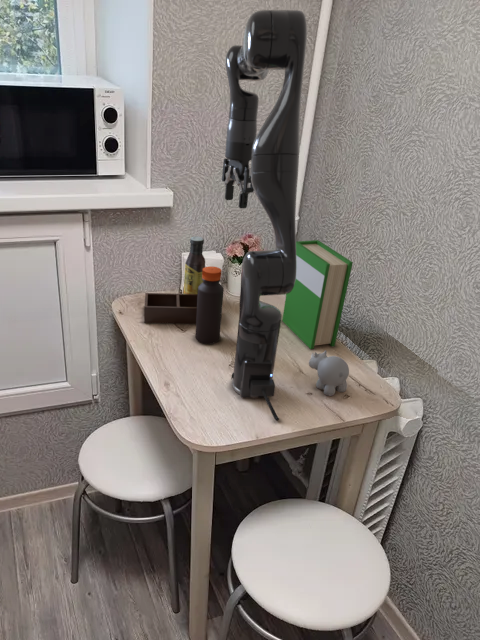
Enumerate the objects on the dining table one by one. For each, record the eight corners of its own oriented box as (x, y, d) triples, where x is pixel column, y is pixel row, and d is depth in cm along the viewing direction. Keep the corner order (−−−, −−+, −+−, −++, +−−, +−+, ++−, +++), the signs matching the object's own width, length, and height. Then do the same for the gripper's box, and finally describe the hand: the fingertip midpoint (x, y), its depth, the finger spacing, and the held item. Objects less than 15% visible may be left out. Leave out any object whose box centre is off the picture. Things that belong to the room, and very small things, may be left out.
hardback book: (334, 346, 144) (352, 262, 131) (310, 349, 142) (326, 264, 129) (304, 318, 158) (318, 240, 145) (282, 320, 156) (294, 241, 143)
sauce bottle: (180, 296, 167) (182, 235, 157) (197, 294, 170) (201, 233, 159) (188, 305, 162) (191, 242, 152) (206, 302, 165) (210, 240, 154)
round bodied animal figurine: (321, 369, 134) (327, 339, 129) (350, 393, 124) (358, 363, 120) (297, 374, 131) (302, 344, 126) (325, 399, 122) (332, 368, 117)
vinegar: (206, 347, 140) (211, 276, 130) (190, 337, 145) (193, 268, 134) (224, 340, 144) (230, 270, 133) (208, 330, 148) (212, 263, 138)
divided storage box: (211, 324, 152) (212, 308, 149) (144, 323, 151) (144, 307, 148) (208, 309, 160) (209, 294, 158) (145, 308, 159) (145, 292, 157)
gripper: (216, 134, 138) (212, 198, 147) (240, 143, 127) (234, 211, 136) (241, 134, 140) (236, 196, 149) (267, 143, 129) (260, 209, 138)
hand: (235, 203), depth 142 cm, fingers open, 8 cm apart
